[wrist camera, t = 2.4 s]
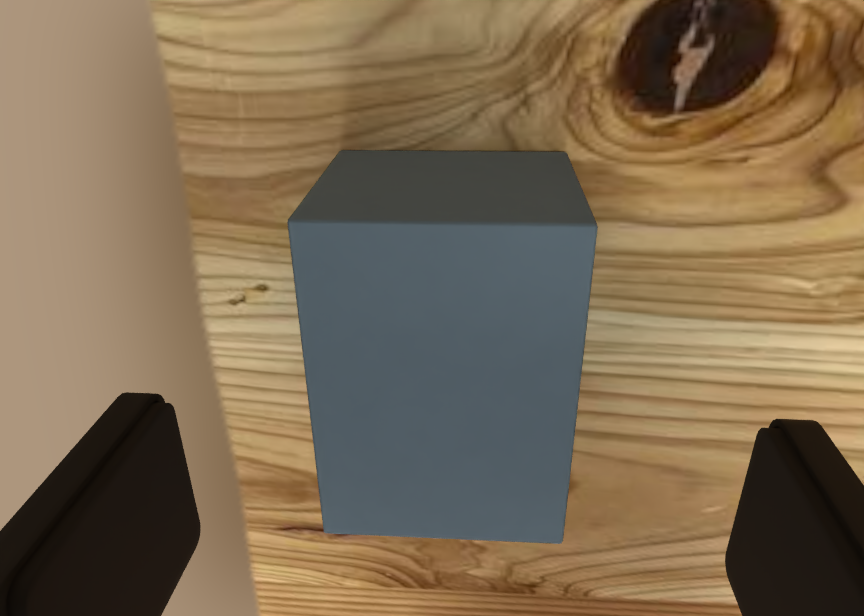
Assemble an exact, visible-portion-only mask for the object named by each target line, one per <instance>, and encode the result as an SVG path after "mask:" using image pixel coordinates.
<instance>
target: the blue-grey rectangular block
mask: <svg viewBox="0 0 864 616" xmlns="http://www.w3.org/2000/svg"><path fill="white" fill-rule="evenodd" d="M597 228H598V226H597V223H596V221H595V219H594V216H593V214H592V212H591V209H590V207H589V204H588V202H587V200H586V197H585V195H584V193H583V190H582V188H581V186H580V183H579V181H578V179H577V176H576V174H575V171H574V169H573V167H572V164H571V162H570V160H569V157H568V155H567V153H566V152H516V151H372V150H341V151H339V153H338V154H337V155H336V157H335V158H334V159H333V161H332V162H331V163H330V165H329V166H328V167H327V169H326V170H325V171H324V173H323V174H322V175H321V177H320V178H319V179H318V181H317V182H316V183H315V185H314V186H313V187H312V189H311V190H310V191H309V193H308V194H307V195H306V197H305V198H304V199H303V201H302V202H301V203H300V205H299V206H298V207H297V209H296V210H295V211H294V213H293V214H292V215H291V217H290V218H289V219H288V230H289V239H290V248H291V256H292V265H293V273H294V282H295V290H296V299H297V307H298V316H299V324H300V333H301V341H302V350H303V358H304V367H305V375H306V384H307V392H308V401H309V409H310V418H311V426H312V435H313V443H314V452H315V460H316V469H317V477H318V486H319V494H320V503H321V511H322V520H323V528H324V532H325V533H334V534H356V535H378V536H400V537H422V538H444V539H466V540H488V541H510V542H532V543H554V544H560V543H562V541H563V535H564V526H565V517H566V508H567V499H568V490H569V481H570V472H571V463H572V454H573V445H574V436H575V427H576V418H577V409H578V400H579V391H580V382H581V373H582V364H583V354H584V345H585V336H586V327H587V318H588V309H589V300H590V291H591V282H592V273H593V264H594V255H595V246H596V237H597Z"/></svg>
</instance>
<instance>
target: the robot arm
mask: <svg viewBox="0 0 864 616" xmlns="http://www.w3.org/2000/svg"><path fill="white" fill-rule="evenodd" d="M199 537H200V520H199V516H198V512H197V507H196V503H195V498H194V494H193V489H192V485H191V480H190V476H189V472H188V467H187V463H186V458H185V454H184V449H183V445H182V440H181V436H180V432H179V427H178V423H177V418H176V414H175V410H174V407H173V406H172V405H171V404H170V403H165V401H164V399H163V397H162V396H161V395H159V394H150V393H122V394H121V395H120V396H118V397H117V399H116V400H115V401H114V402H113V403H112V404H111V405H110V406H109V408H108V409H107V410H106V411H105V412H104V413H103V414H102V416H101V417H100V418H99V419H98V420H97V421H96V423H95V424H94V425H93V426H92V427H91V428H90V429H89V430H88V432H87V433H86V434H85V435H84V436H83V437H82V439H81V440H80V441H79V442H78V443H77V444H76V445H75V447H74V448H73V449H72V450H71V451H70V452H69V453H68V454H67V456H66V457H65V458H64V459H63V460H62V461H61V462H60V463H59V465H58V466H57V467H56V468H55V469H54V470H53V472H52V473H51V474H50V475H49V476H48V477H47V478H46V480H45V481H44V482H43V483H42V484H41V485H40V486H39V487H38V489H37V490H36V491H35V492H34V493H33V494H32V496H31V497H30V498H29V499H28V500H27V501H26V502H25V503H24V505H23V506H22V507H21V508H20V509H19V510H18V511H17V513H16V514H15V515H14V516H13V517H12V518H11V519H10V521H9V522H8V523H7V524H6V525H5V526H4V527H3V528H2V530H1V531H0V616H161V615H162V613H163V611H164V609H165V607H166V605H167V603H168V601H169V599H170V597H171V595H172V593H173V591H174V589H175V588H176V586H177V583H178V582H179V579H180V578H181V576H182V574H183V572H184V570H185V568H186V566H187V564H188V562H189V560H190V558H191V556H192V554H193V553H194V551H195V549H196V546H197V544H198V541H199ZM725 564H726V572H727V576H728V579H729V582H730V585H731V587H732V590H733V592H734V595H735V598H736V600H737V603H738V605H739V608H740V611H741V613H742V616H864V485H863V484H862V482H861V481H860V480H859V478H858V477H857V475H856V474H855V473H854V471H853V470H852V468H851V467H850V465H849V464H848V463H847V461H846V460H845V458H844V457H843V456H842V454H841V453H840V451H839V450H838V449H837V447H836V446H835V444H834V443H833V442H832V440H831V439H830V437H829V436H828V435H827V433H826V432H825V430H824V429H823V428H822V426H821V425H820V424H819V423H818V422H816V421H813V420H791V419H775V420H773V421H772V422H771V424H770V426H769V428H761V429H760V430H759V431H758V433H757V436H756V440H755V444H754V448H753V451H752V455H751V459H750V463H749V467H748V471H747V474H746V478H745V482H744V486H743V490H742V493H741V497H740V501H739V505H738V509H737V512H736V516H735V520H734V524H733V528H732V532H731V535H730V539H729V543H728V547H727V551H726V556H725Z"/></svg>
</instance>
